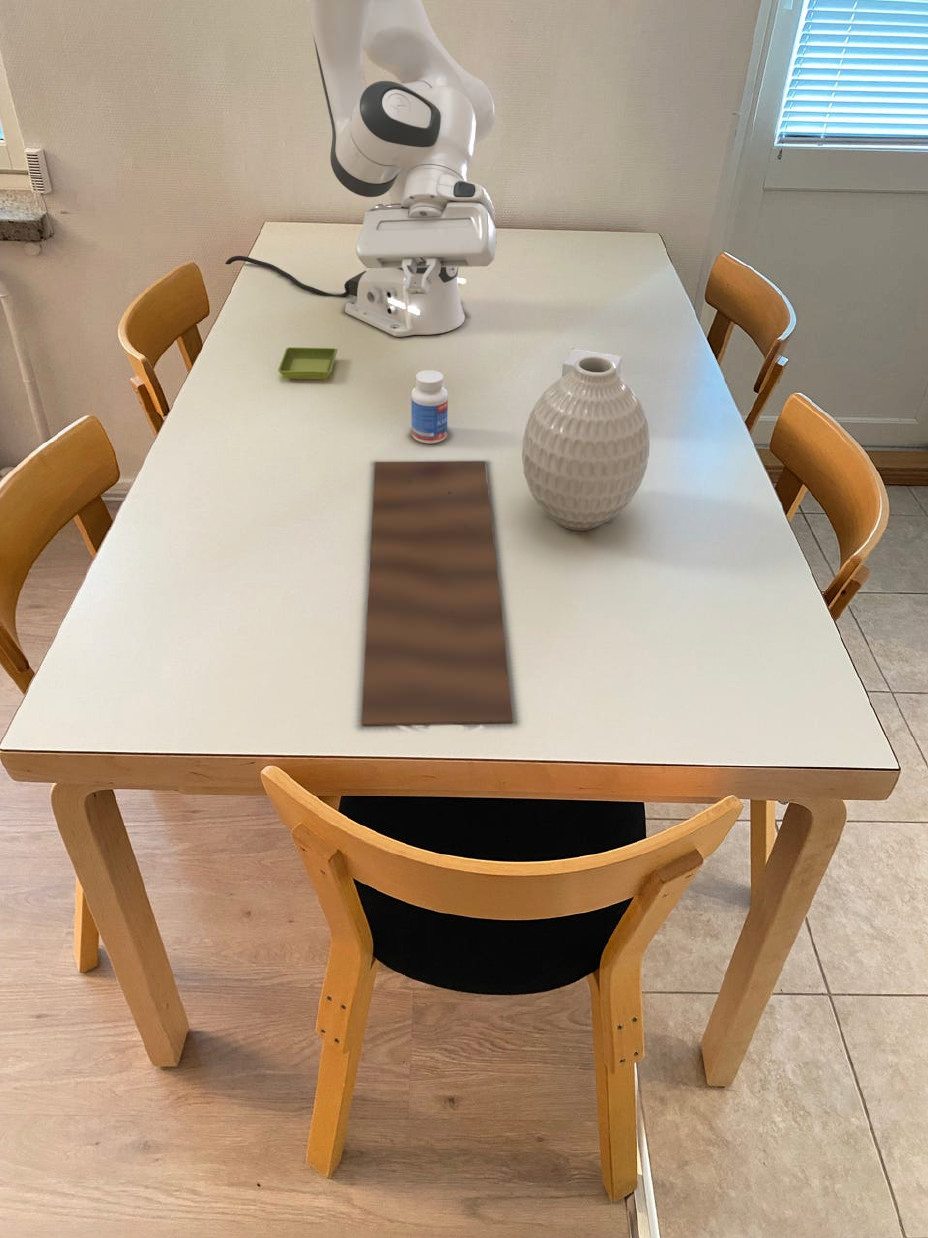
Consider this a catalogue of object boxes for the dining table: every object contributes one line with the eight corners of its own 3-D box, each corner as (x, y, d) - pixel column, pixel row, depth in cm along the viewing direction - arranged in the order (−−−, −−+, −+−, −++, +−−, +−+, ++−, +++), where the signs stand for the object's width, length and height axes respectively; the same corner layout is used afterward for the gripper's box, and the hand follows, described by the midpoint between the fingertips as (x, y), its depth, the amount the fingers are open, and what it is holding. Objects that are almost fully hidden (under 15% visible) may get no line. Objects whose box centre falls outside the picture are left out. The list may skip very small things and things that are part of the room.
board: (375, 464, 140) (375, 461, 140) (485, 463, 141) (485, 460, 141) (361, 725, 102) (361, 722, 102) (512, 722, 103) (512, 720, 102)
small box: (615, 418, 151) (623, 355, 144) (607, 435, 147) (615, 371, 140) (565, 409, 153) (571, 346, 146) (556, 425, 149) (562, 362, 142)
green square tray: (278, 382, 158) (277, 370, 157) (287, 358, 165) (286, 346, 163) (331, 384, 158) (330, 372, 157) (338, 359, 165) (337, 348, 163)
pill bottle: (443, 446, 144) (443, 387, 138) (408, 442, 145) (406, 382, 138) (450, 428, 148) (451, 369, 142) (416, 424, 149) (415, 365, 142)
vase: (605, 567, 123) (628, 410, 108) (496, 525, 129) (503, 373, 115) (656, 506, 133) (683, 356, 119) (553, 470, 140) (566, 324, 125)
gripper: (358, 192, 138) (340, 281, 136) (494, 185, 131) (477, 279, 129) (375, 217, 144) (358, 303, 142) (506, 213, 137) (490, 303, 135)
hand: (416, 292), depth 135 cm, fingers closed
